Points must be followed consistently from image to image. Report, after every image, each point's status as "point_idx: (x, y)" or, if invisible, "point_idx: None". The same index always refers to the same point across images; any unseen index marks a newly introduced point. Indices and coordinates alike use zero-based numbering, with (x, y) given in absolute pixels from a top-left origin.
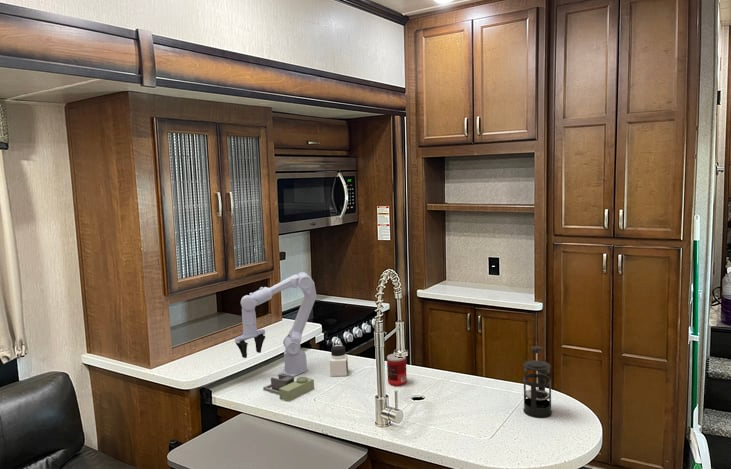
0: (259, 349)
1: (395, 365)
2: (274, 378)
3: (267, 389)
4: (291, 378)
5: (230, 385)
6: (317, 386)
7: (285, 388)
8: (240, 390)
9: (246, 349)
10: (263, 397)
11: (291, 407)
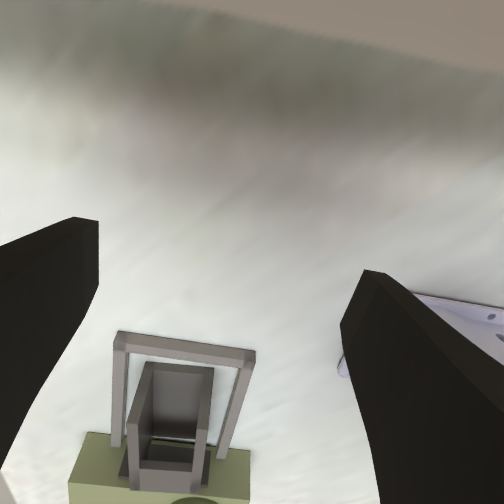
0: (355, 361)
1: None
2: (130, 441)
3: (113, 364)
4: (179, 493)
5: (26, 67)
6: (266, 478)
7: (87, 497)
8: (20, 217)
9: (11, 427)
10: (48, 377)
11: (57, 487)
